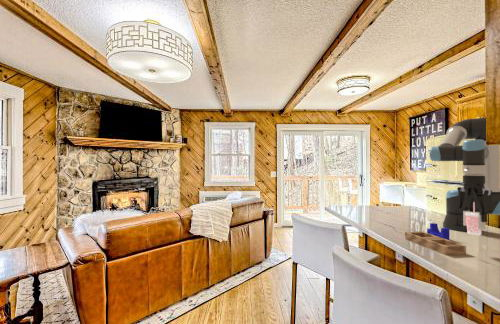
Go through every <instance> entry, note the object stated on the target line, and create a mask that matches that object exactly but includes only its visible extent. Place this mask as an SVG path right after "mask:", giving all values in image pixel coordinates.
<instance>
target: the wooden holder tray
mask: <svg viewBox="0 0 500 324" xmlns="http://www.w3.org/2000/svg"><path fill="white" fill-rule="evenodd" d="M404 239H405V240H406V241H409V242H412V243H414V244H417V245H419V246H422V247H425V248H427V249H429V250H432V251H434V252H437V253H440V254H442V255H444V256H449V255H450V256H452V255H466V254H467V245H465V244H462V243H459V242H456V241H453V240H450V239H449V240H447V239H444V238H441V237H438V236H435V235H432V234H429V233H427V231H405V232H404Z"/></svg>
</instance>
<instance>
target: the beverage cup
mask: <svg viewBox="0 0 500 324" xmlns="http://www.w3.org/2000/svg"><path fill="white" fill-rule="evenodd" d="M478 214H479V213H476V212H475V202H473V212H466V213H465V215H466V222H467V231H466V232H467V234H468V235H472V236H482V230H480V229H478Z"/></svg>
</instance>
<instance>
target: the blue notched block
mask: <svg viewBox="0 0 500 324" xmlns="http://www.w3.org/2000/svg"><path fill="white" fill-rule="evenodd" d="M426 233H429V234H432V235H435V236H438V237H441V238H444V239H447V240H450V229H448V228H445V227H440V230H439V228H438V223H435V222H434V223H429V228H427V229H426Z"/></svg>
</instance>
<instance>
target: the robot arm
mask: <svg viewBox="0 0 500 324" xmlns="http://www.w3.org/2000/svg"><path fill="white" fill-rule="evenodd" d="M486 117H487V116H486ZM486 117H477V118H467V119H466V118H465V119H462V120H460V121H458V122H456V123H454V124H453V125H451V126H449V128H448V129H447V130H446V133H445V134H446V135H445V136H444V138H443V140H442V141H441V143H440V144H439V145H438V146H437V145H436V146H431V147H430V148H429V158H430V160H431V161H432V162H462V174H463V175H462V183H463V186H459V187H457V188H456V189H451V190H447V191H446V196H445V203H446V206H445V209H446V210H445V211H446V214H445V216H444V220H443V222H442V228H448V229H449V230H454V231H460V232H467V222H466V215H465V213H466V212H473V202H475V213H479V214H478V229H480V230H486V228H487V227H486V226H487V225H486V223H487V222H488V215H491V216H493V215H497V216H500V145H486ZM462 141H463V142H462ZM461 143H462V145H460V144H461Z"/></svg>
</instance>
